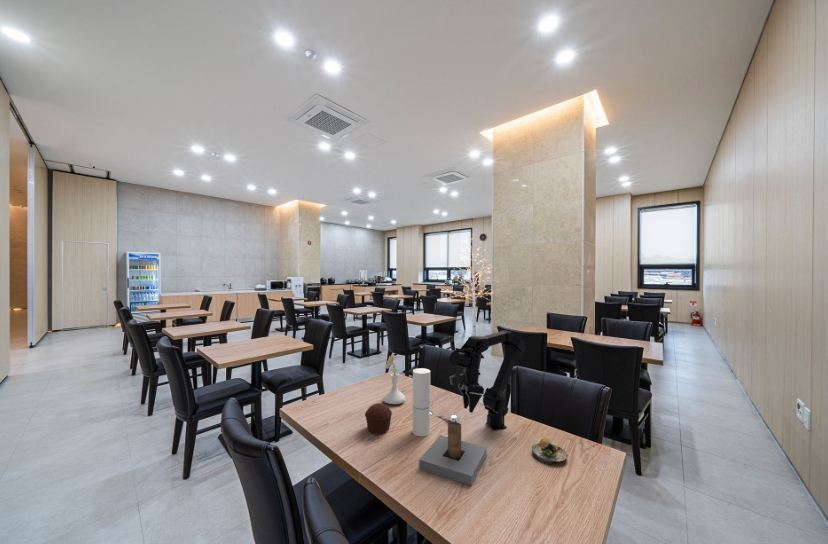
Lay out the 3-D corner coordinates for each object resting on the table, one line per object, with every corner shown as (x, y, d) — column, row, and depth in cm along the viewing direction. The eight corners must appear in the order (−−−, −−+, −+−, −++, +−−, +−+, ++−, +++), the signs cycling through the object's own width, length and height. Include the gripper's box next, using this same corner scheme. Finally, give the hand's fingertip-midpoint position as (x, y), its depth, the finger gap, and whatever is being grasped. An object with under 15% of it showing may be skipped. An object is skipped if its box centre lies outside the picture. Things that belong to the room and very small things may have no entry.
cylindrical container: (432, 429, 131) (432, 369, 131) (427, 437, 124) (427, 374, 125) (415, 426, 133) (416, 367, 134) (410, 434, 127) (410, 372, 127)
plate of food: (553, 470, 105) (553, 447, 105) (524, 453, 115) (524, 432, 115) (574, 459, 111) (574, 438, 111) (545, 444, 121) (545, 424, 121)
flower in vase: (385, 396, 165) (386, 349, 166) (407, 398, 164) (407, 350, 164) (379, 407, 153) (380, 355, 153) (402, 408, 151) (403, 356, 151)
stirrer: (419, 404, 147) (425, 401, 151) (419, 412, 147) (425, 408, 151) (456, 419, 135) (461, 416, 138) (455, 428, 135) (461, 423, 139)
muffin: (367, 422, 137) (367, 399, 137) (393, 423, 137) (393, 399, 137) (362, 436, 125) (362, 411, 125) (390, 437, 125) (390, 411, 125)
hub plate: (440, 443, 121) (440, 435, 121) (486, 455, 112) (486, 447, 112) (418, 468, 105) (419, 459, 105) (471, 485, 96) (471, 475, 96)
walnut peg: (450, 458, 111) (450, 421, 111) (461, 461, 109) (461, 423, 109) (445, 464, 107) (446, 425, 107) (457, 467, 105) (457, 428, 105)
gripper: (448, 364, 135) (443, 403, 131) (456, 366, 117) (451, 411, 113) (474, 368, 135) (470, 407, 131) (486, 371, 117) (482, 416, 113)
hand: (468, 410), depth 122 cm, fingers open, 9 cm apart
